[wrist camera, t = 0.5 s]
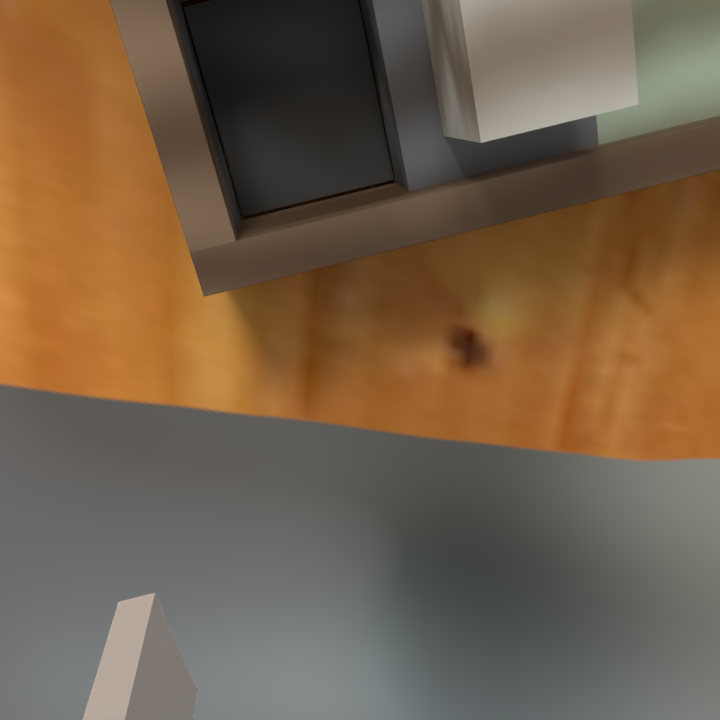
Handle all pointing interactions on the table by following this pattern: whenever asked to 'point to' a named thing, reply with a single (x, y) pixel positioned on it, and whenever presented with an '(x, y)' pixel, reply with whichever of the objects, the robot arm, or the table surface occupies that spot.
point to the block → (528, 63)
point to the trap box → (366, 133)
